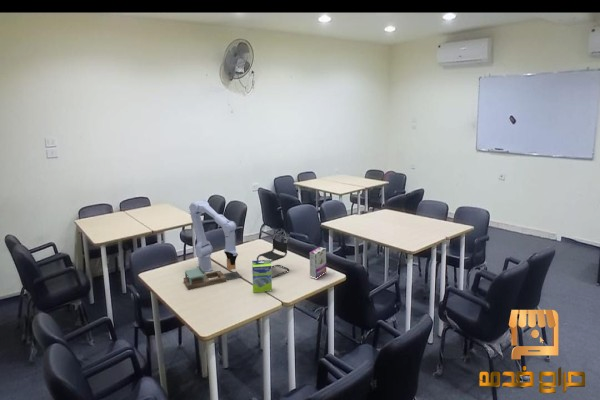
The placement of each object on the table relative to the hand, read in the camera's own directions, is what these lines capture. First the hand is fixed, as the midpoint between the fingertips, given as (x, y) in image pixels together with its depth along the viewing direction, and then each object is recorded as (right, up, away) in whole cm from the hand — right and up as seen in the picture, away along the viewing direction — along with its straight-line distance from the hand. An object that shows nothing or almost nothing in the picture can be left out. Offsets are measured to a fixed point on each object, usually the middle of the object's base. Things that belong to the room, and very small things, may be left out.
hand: (231, 263), depth 234 cm
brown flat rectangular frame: (-15, -10, -6) cm, 18 cm away
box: (+20, -12, -17) cm, 29 cm away
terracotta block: (0, -3, +1) cm, 3 cm away
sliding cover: (-19, -8, -9) cm, 23 cm away
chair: (+25, -7, +7) cm, 27 cm away
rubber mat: (0, -8, +2) cm, 8 cm away
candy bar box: (+52, -8, +1) cm, 53 cm away
